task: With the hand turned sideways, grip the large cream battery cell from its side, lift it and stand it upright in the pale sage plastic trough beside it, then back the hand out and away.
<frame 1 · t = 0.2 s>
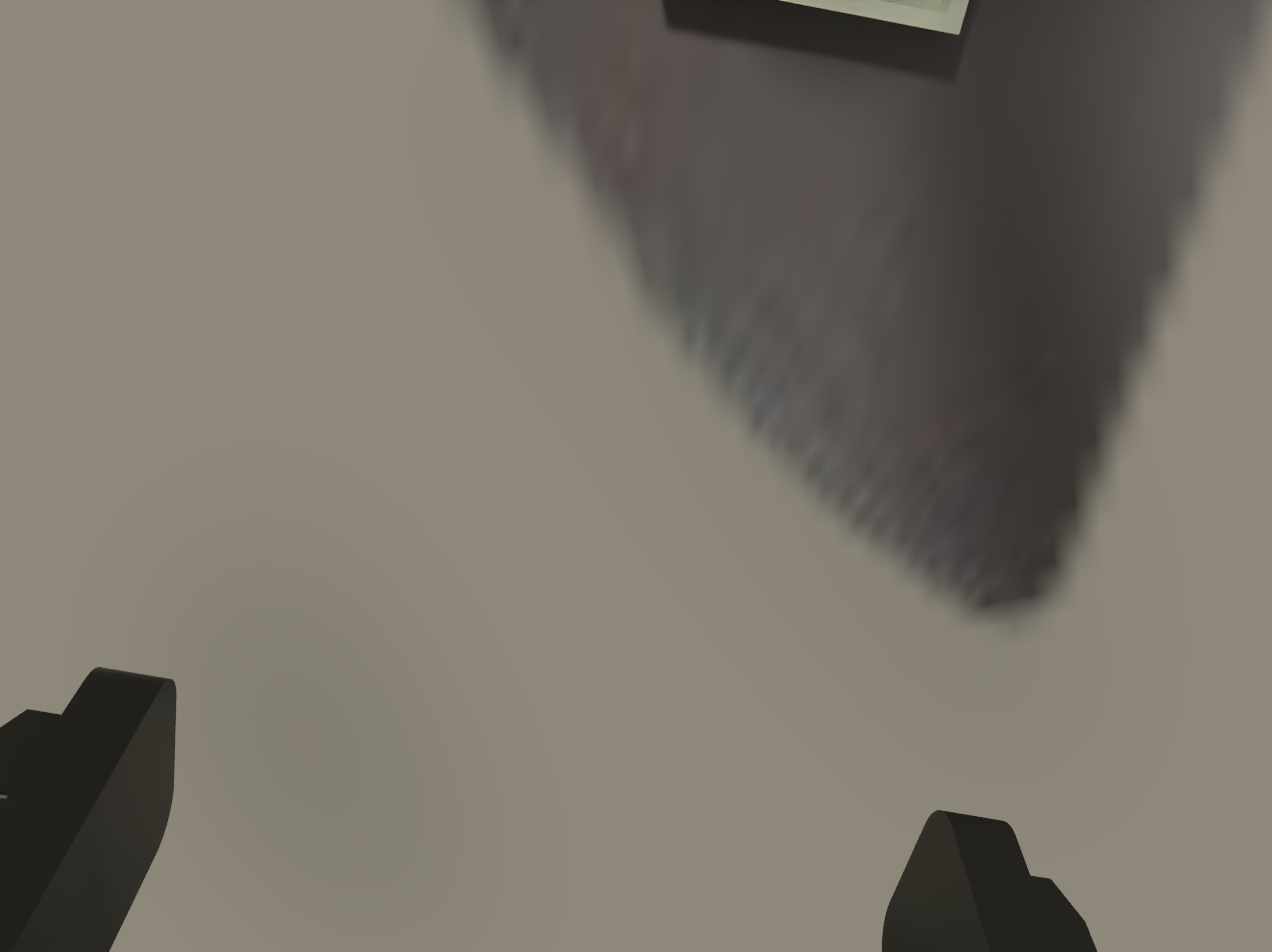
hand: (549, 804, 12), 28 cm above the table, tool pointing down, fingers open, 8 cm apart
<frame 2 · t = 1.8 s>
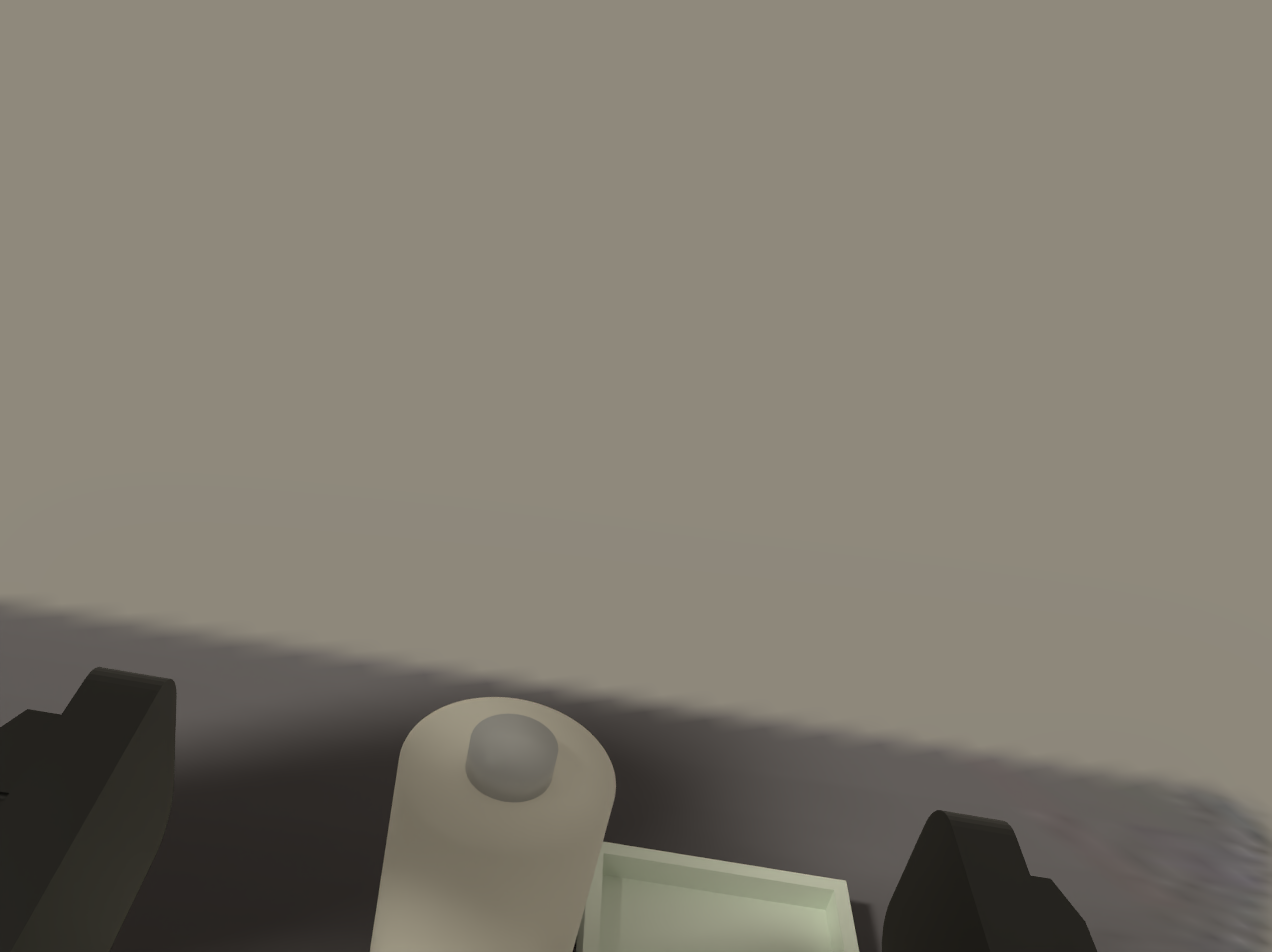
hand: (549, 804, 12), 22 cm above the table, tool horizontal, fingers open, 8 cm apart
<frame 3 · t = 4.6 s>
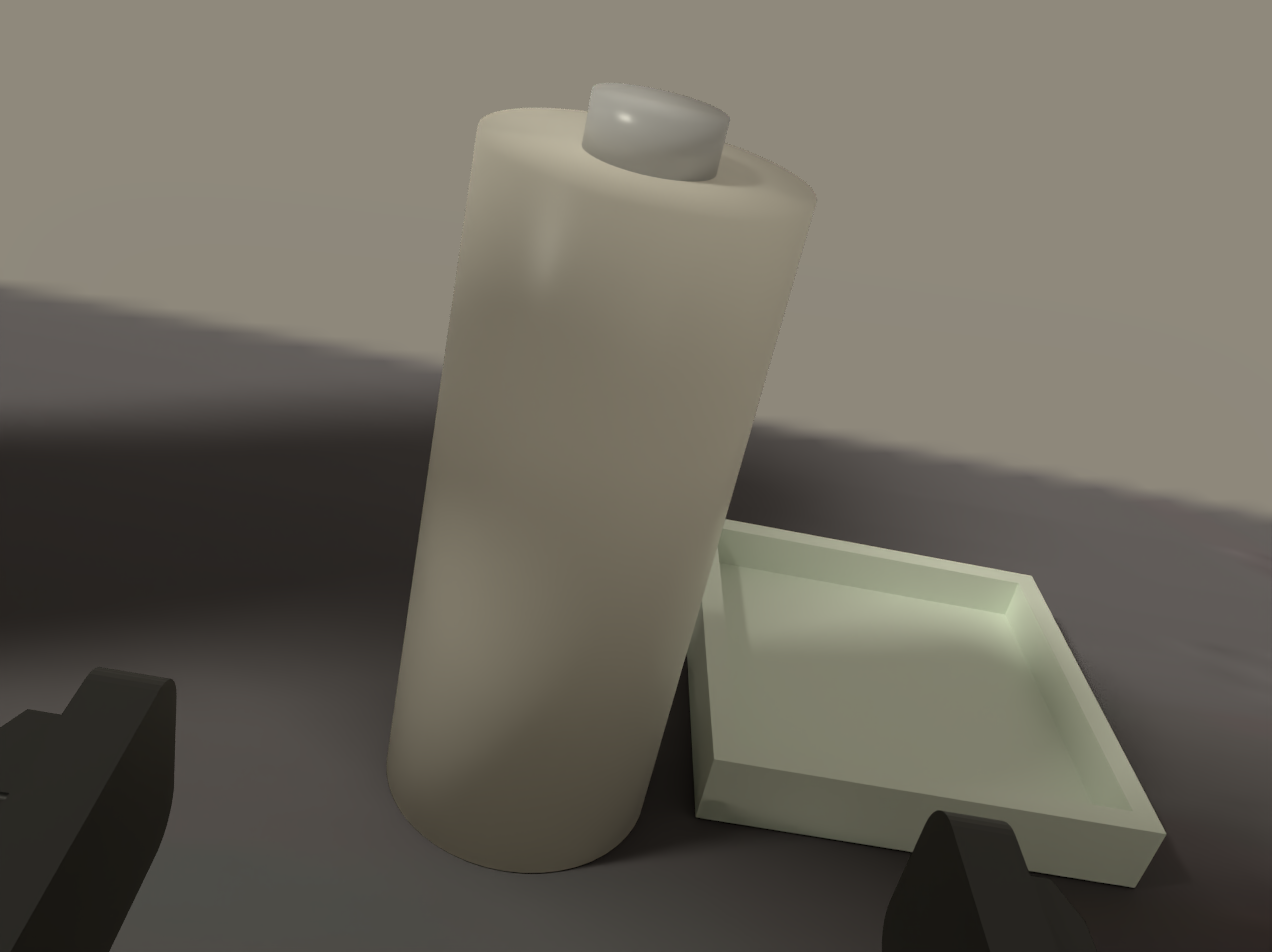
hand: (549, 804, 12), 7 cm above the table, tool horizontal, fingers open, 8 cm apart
battery cell: (517, 770, 23), on the table
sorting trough: (878, 703, 27), on the table
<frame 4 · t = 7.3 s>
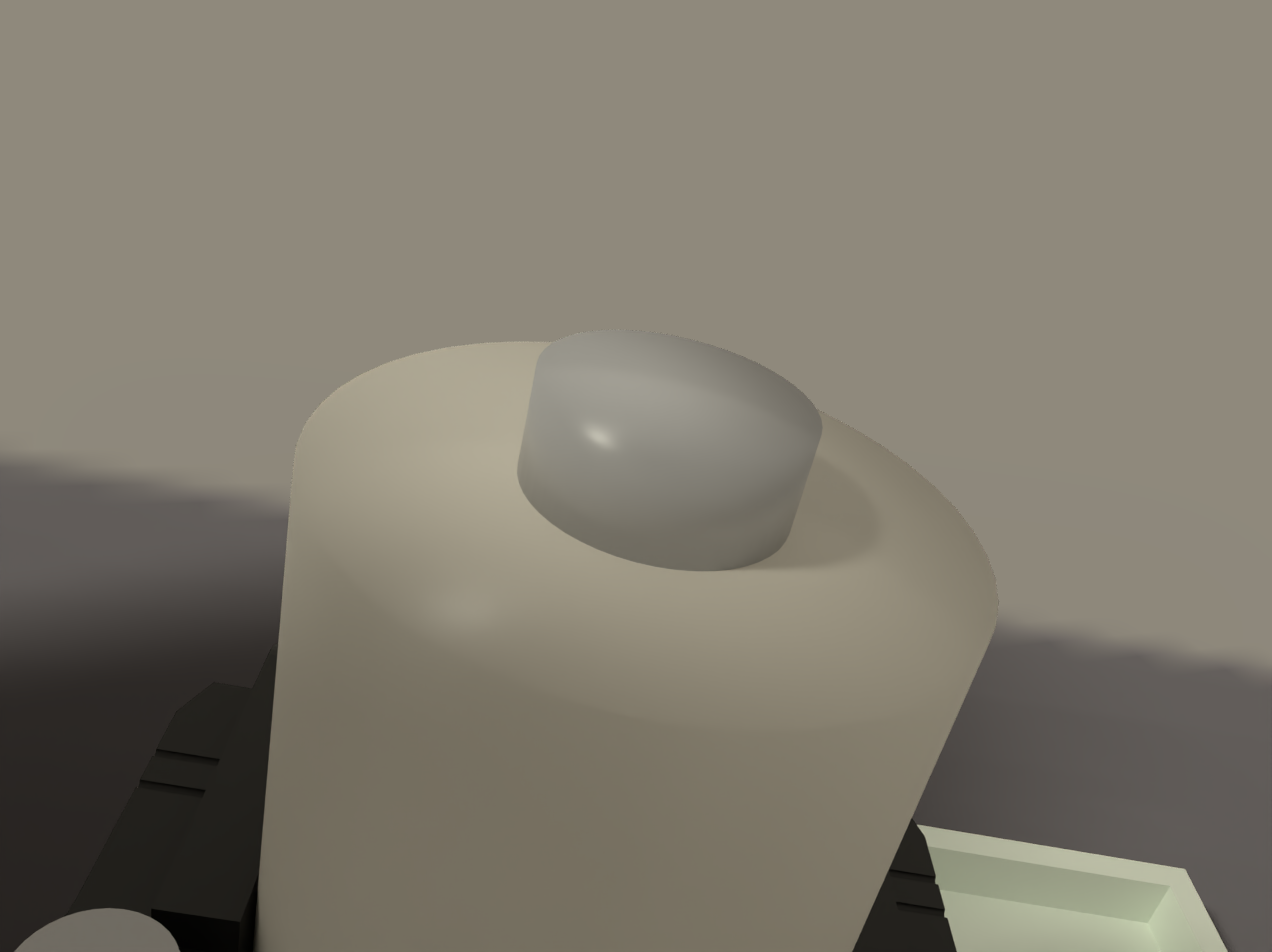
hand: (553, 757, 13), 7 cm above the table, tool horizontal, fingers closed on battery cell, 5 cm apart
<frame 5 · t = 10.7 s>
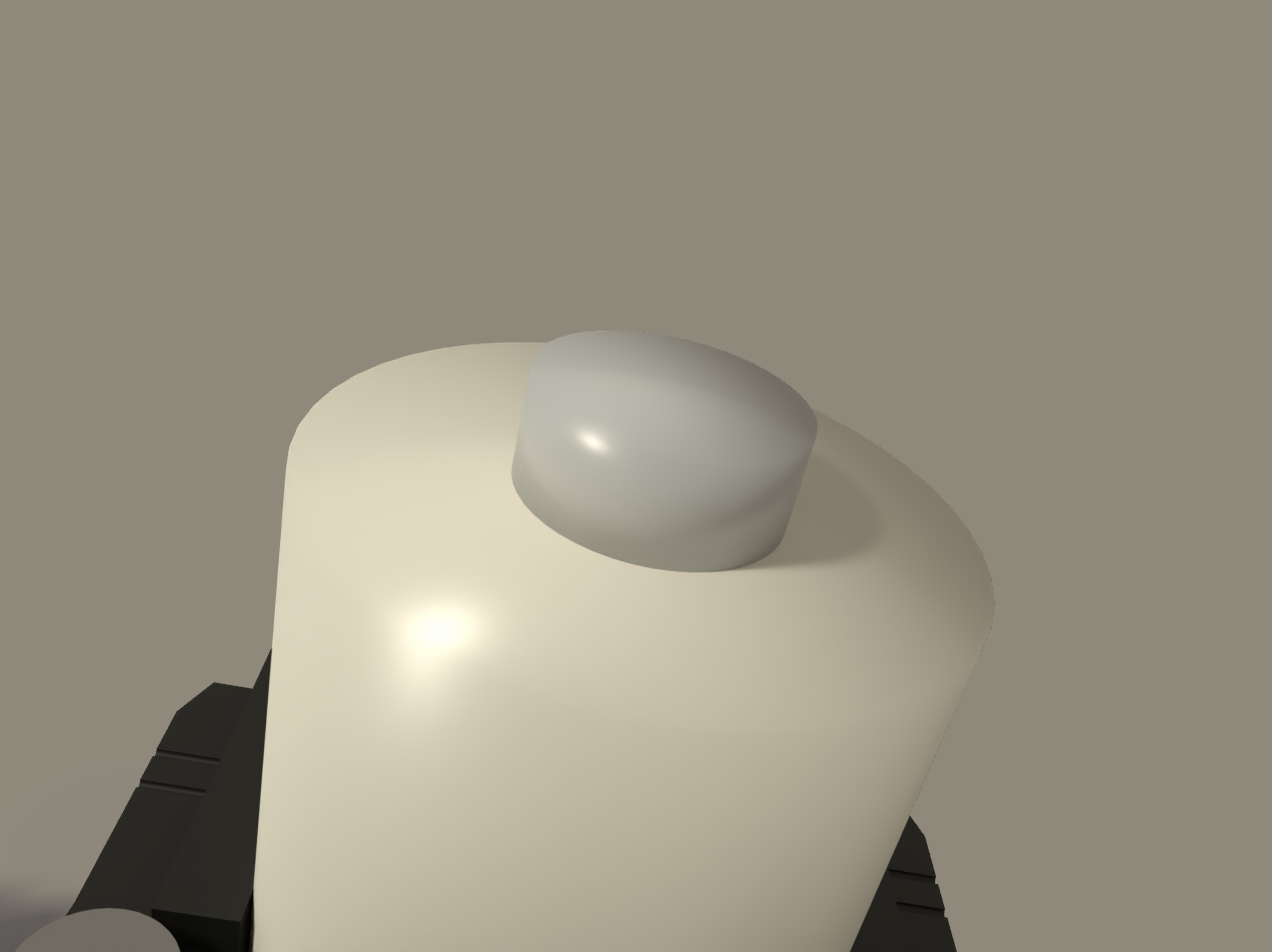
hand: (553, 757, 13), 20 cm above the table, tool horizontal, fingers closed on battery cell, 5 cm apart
when the fingers open (9 cm above the table, at t = 14.2 s): battery cell drops 1 cm, resting on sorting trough.
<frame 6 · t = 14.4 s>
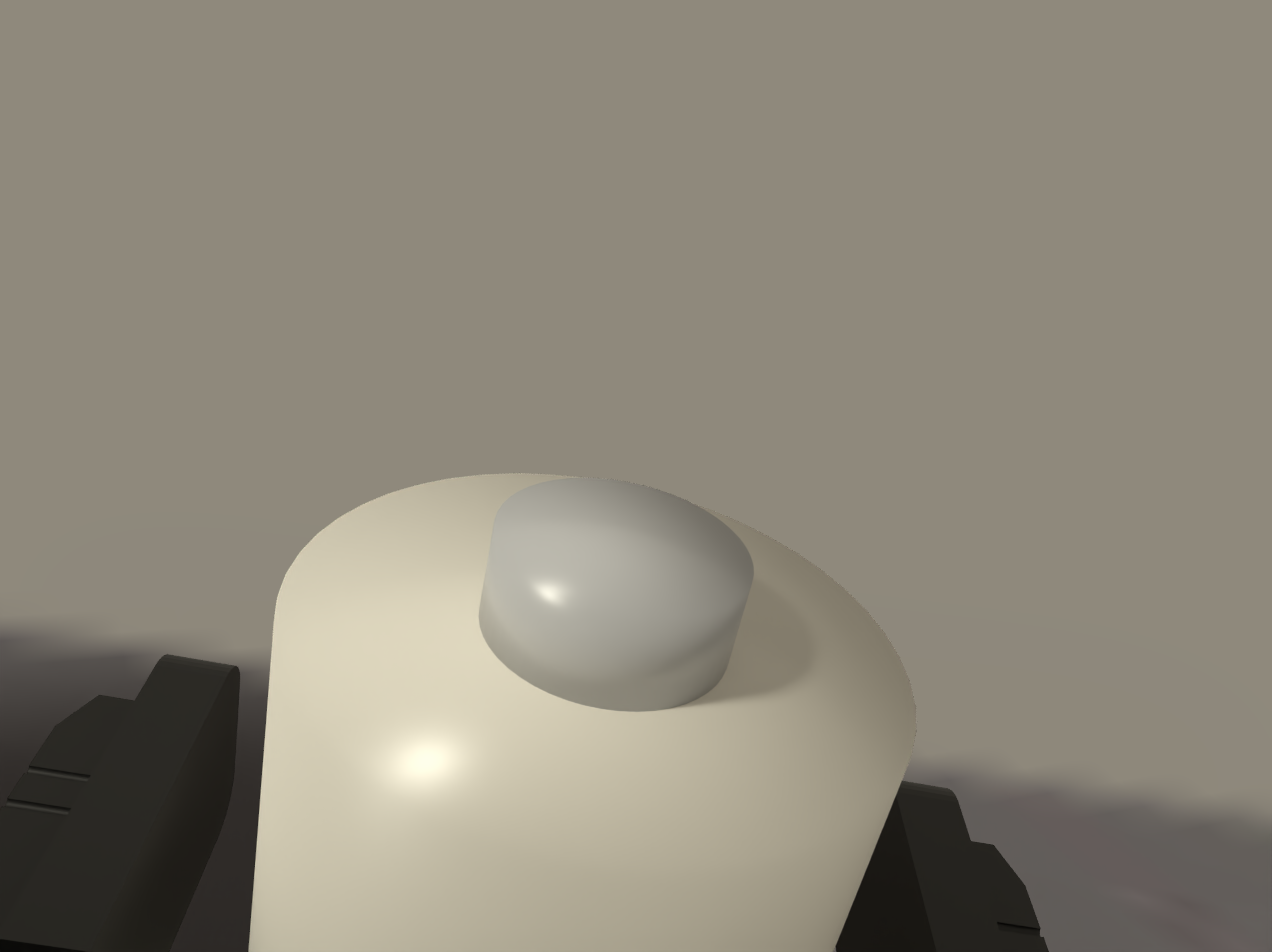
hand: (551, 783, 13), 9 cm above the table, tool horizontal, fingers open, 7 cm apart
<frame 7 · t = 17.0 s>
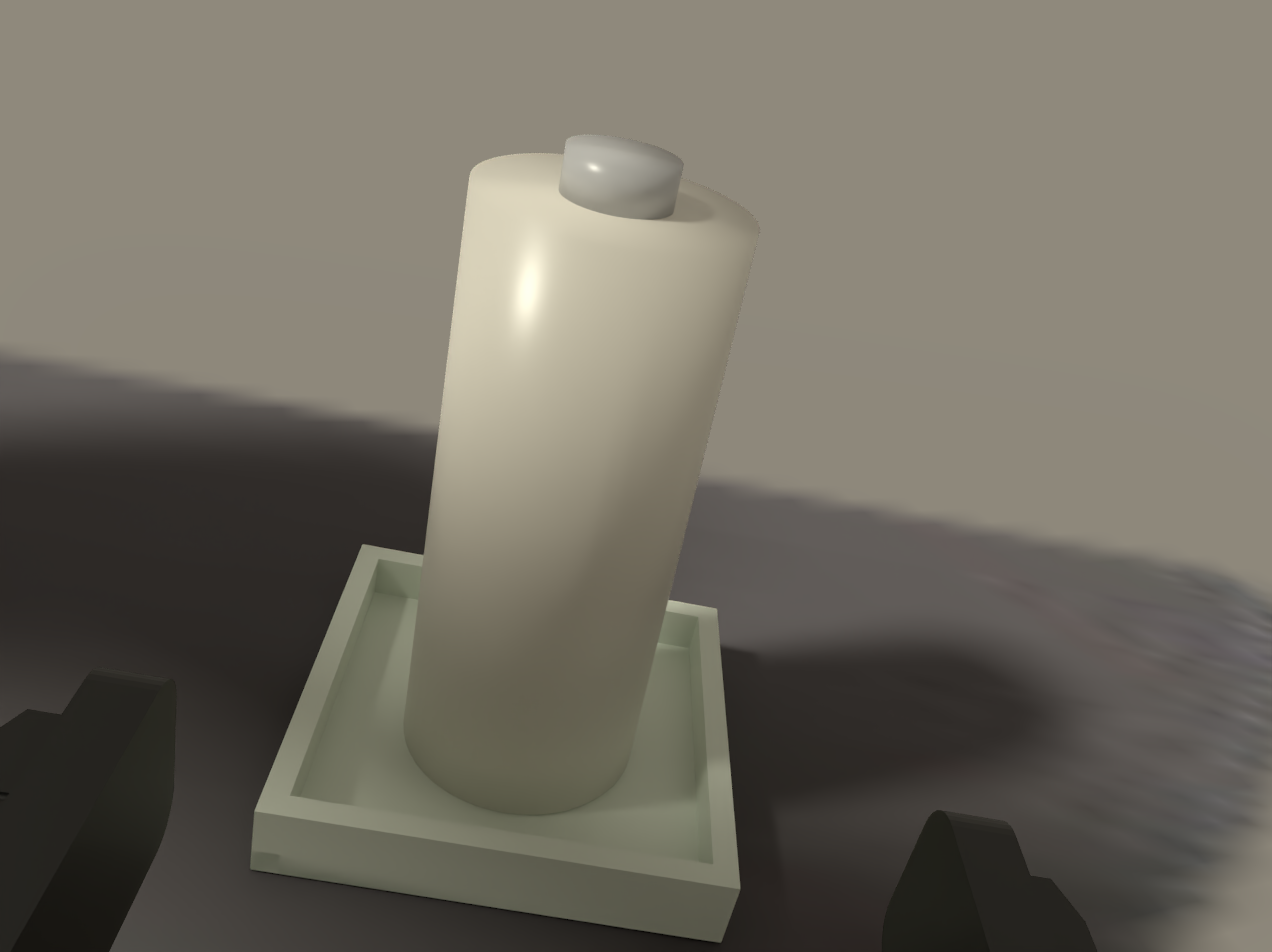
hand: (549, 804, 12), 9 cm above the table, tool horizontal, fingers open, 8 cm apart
battery cell: (518, 729, 26), point 1 cm above the table, touching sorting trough
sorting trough: (514, 744, 26), on the table
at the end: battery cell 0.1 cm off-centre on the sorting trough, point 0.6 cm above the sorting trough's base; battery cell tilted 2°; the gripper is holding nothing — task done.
